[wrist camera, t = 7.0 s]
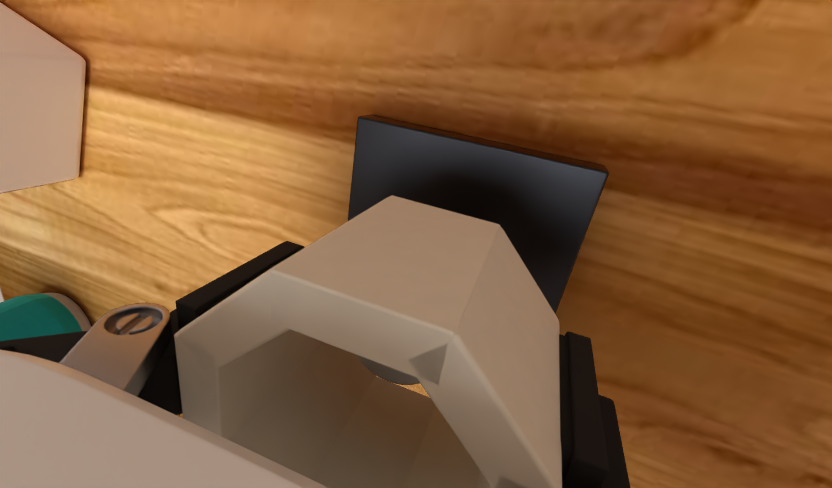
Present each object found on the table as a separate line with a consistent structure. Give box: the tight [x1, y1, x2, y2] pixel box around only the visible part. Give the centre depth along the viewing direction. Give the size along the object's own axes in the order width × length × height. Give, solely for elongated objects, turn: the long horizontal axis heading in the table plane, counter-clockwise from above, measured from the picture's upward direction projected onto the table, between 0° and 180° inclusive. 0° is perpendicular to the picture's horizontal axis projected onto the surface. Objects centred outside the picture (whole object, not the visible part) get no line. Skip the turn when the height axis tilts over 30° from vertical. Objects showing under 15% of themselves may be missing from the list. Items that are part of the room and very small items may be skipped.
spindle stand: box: [348, 115, 609, 385], centre depth 13 cm, size 9×9×7 cm
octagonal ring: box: [174, 195, 562, 488], centre depth 9 cm, size 7×7×5 cm
